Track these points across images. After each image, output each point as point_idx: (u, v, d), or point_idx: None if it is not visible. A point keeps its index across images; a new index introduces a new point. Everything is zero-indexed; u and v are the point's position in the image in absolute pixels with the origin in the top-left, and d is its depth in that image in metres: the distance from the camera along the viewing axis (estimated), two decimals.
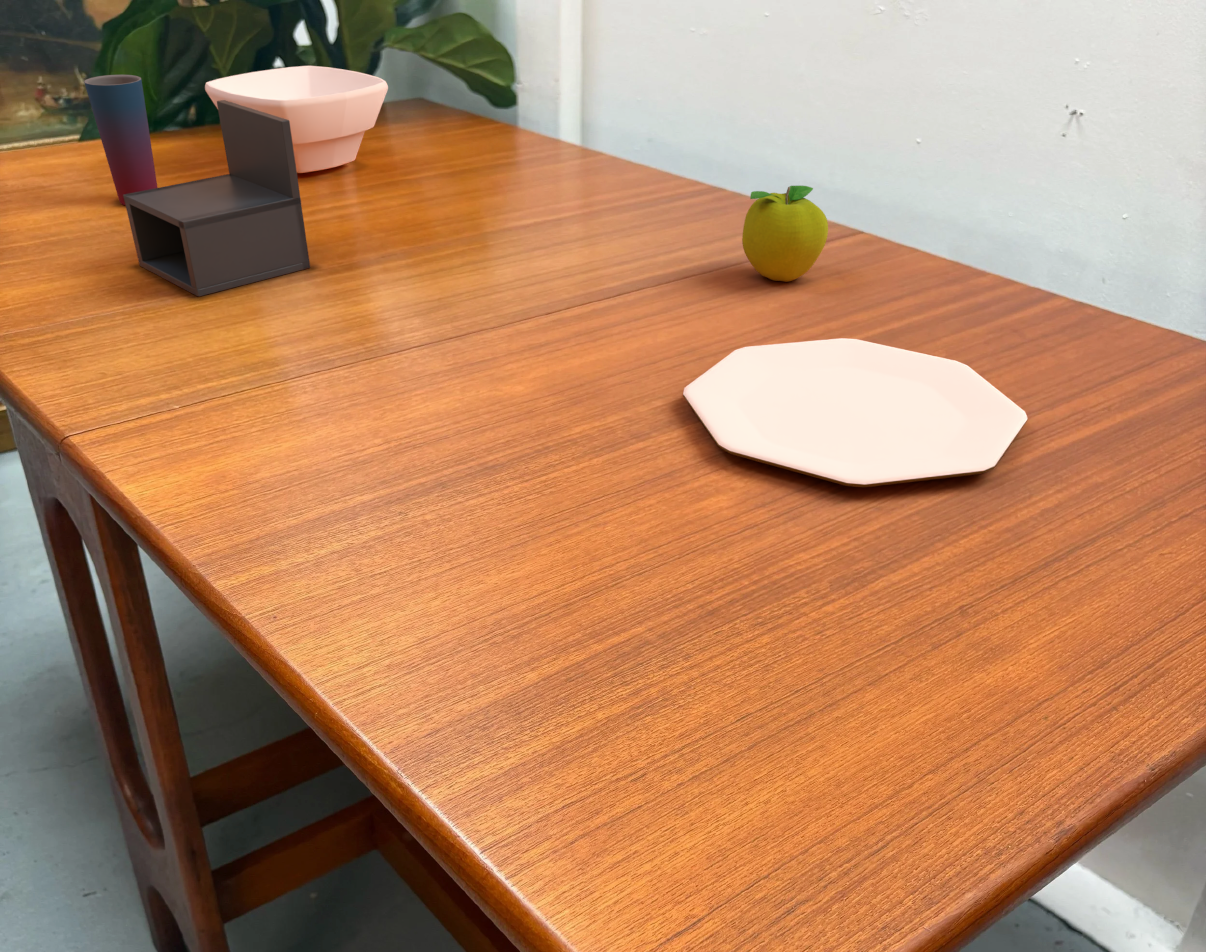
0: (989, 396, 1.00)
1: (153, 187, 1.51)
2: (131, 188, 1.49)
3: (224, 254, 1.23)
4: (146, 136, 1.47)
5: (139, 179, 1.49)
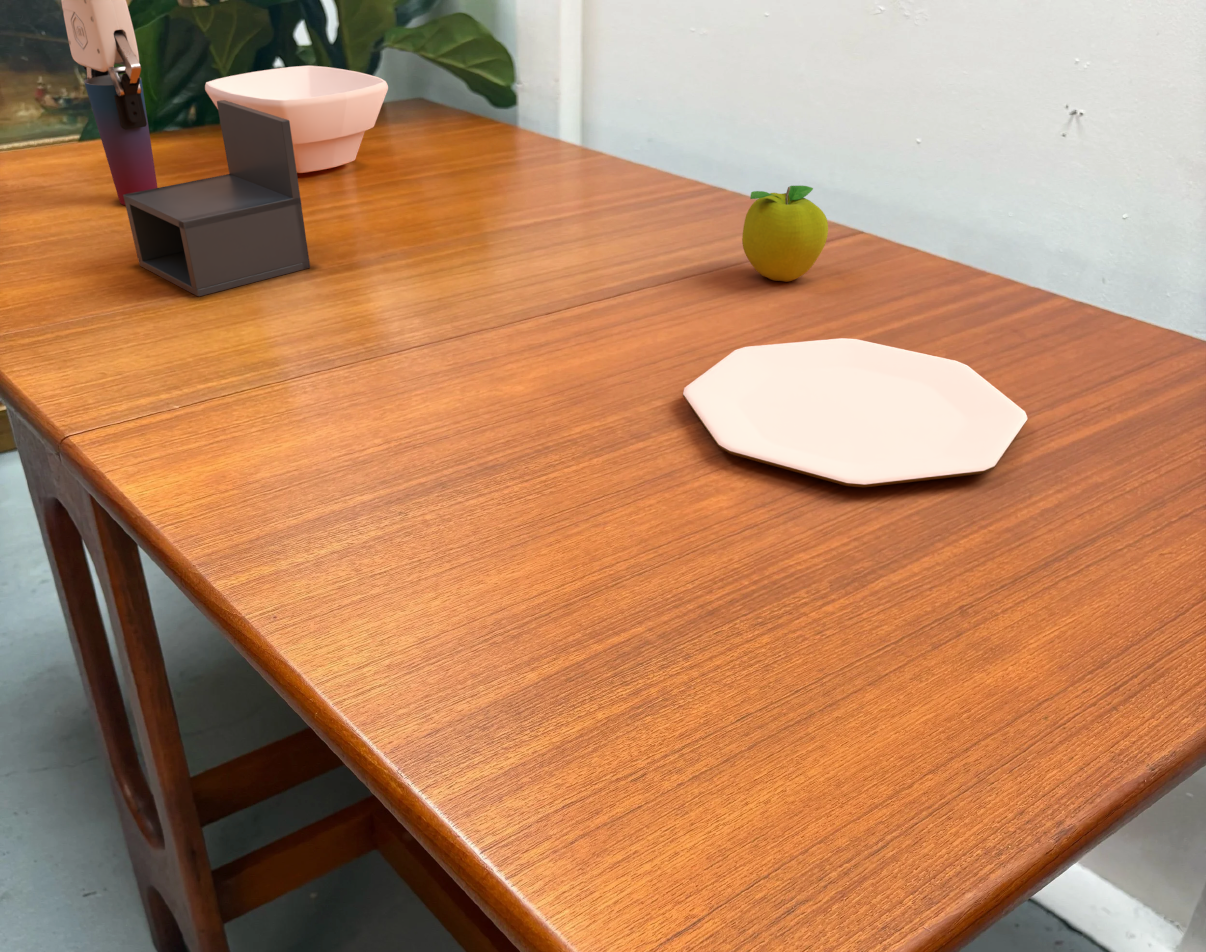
0: (989, 396, 1.00)
1: (153, 187, 1.51)
2: (131, 188, 1.49)
3: (224, 254, 1.23)
4: (146, 136, 1.47)
5: (139, 179, 1.49)
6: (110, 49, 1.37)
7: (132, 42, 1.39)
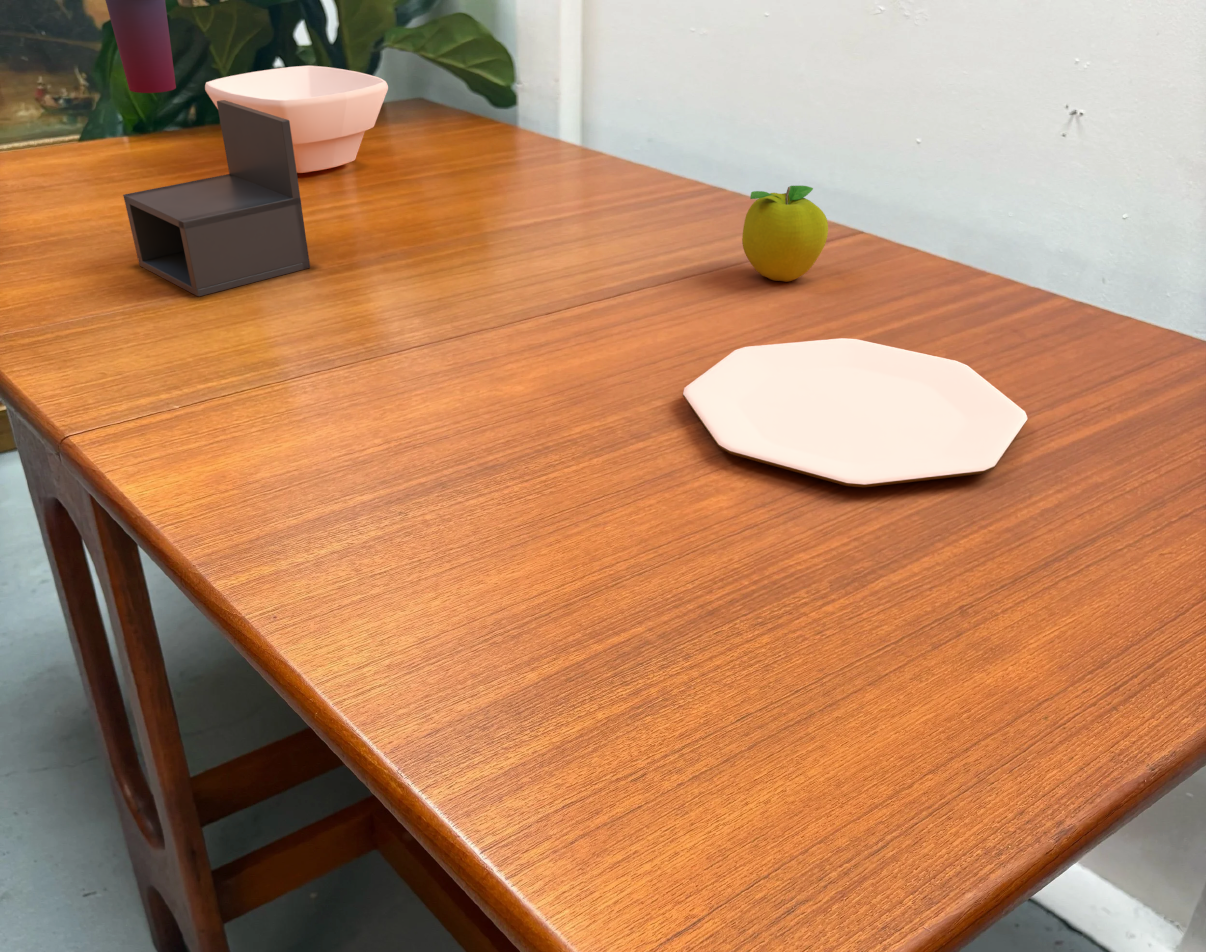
0: (989, 396, 1.00)
1: (169, 71, 1.26)
2: (144, 70, 1.25)
3: (224, 254, 1.23)
4: (162, 6, 1.23)
5: (153, 59, 1.24)
6: None
7: None
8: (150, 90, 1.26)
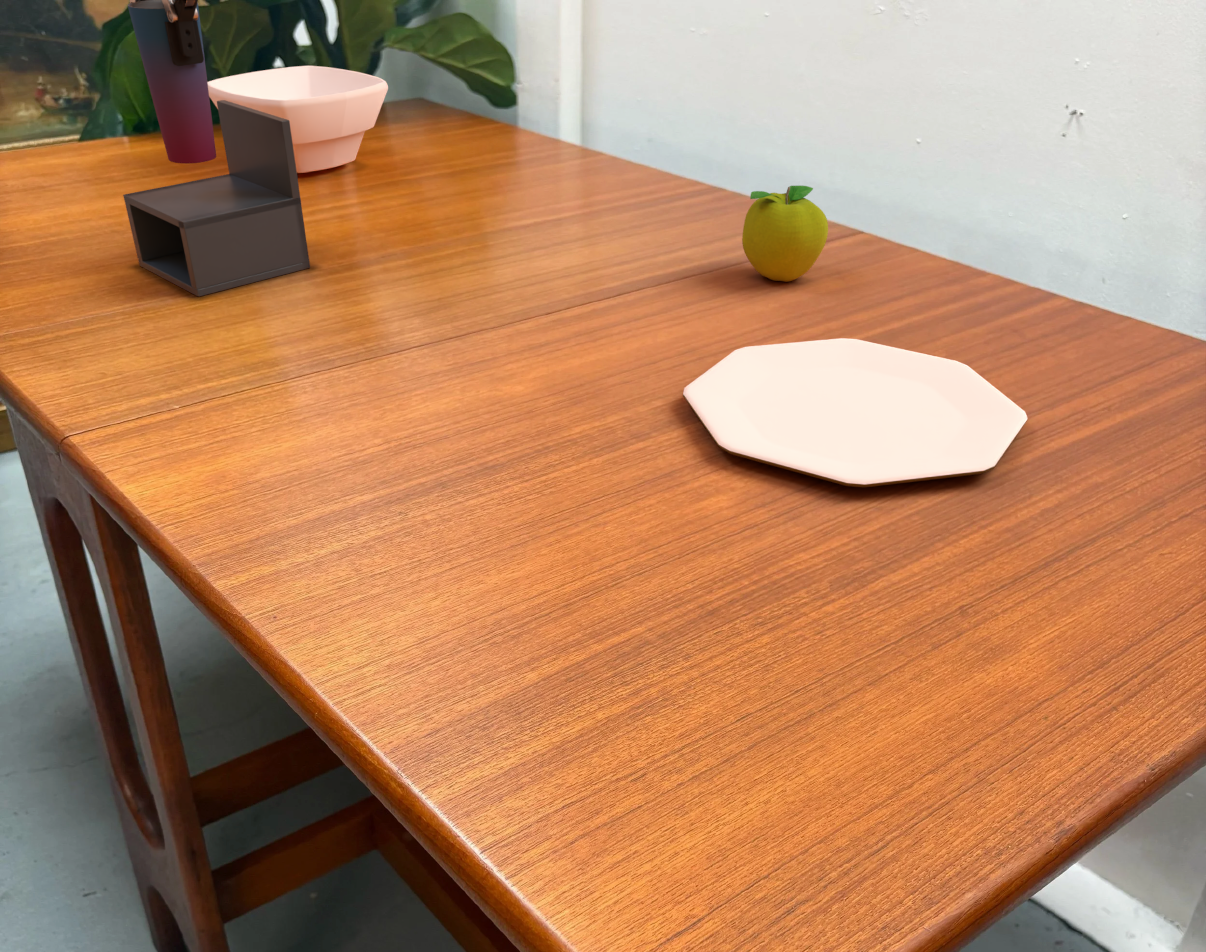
0: (989, 396, 1.00)
1: (210, 140, 1.22)
2: (184, 141, 1.20)
3: (224, 254, 1.23)
4: (203, 76, 1.19)
5: (193, 129, 1.20)
6: None
7: None
8: (190, 161, 1.22)
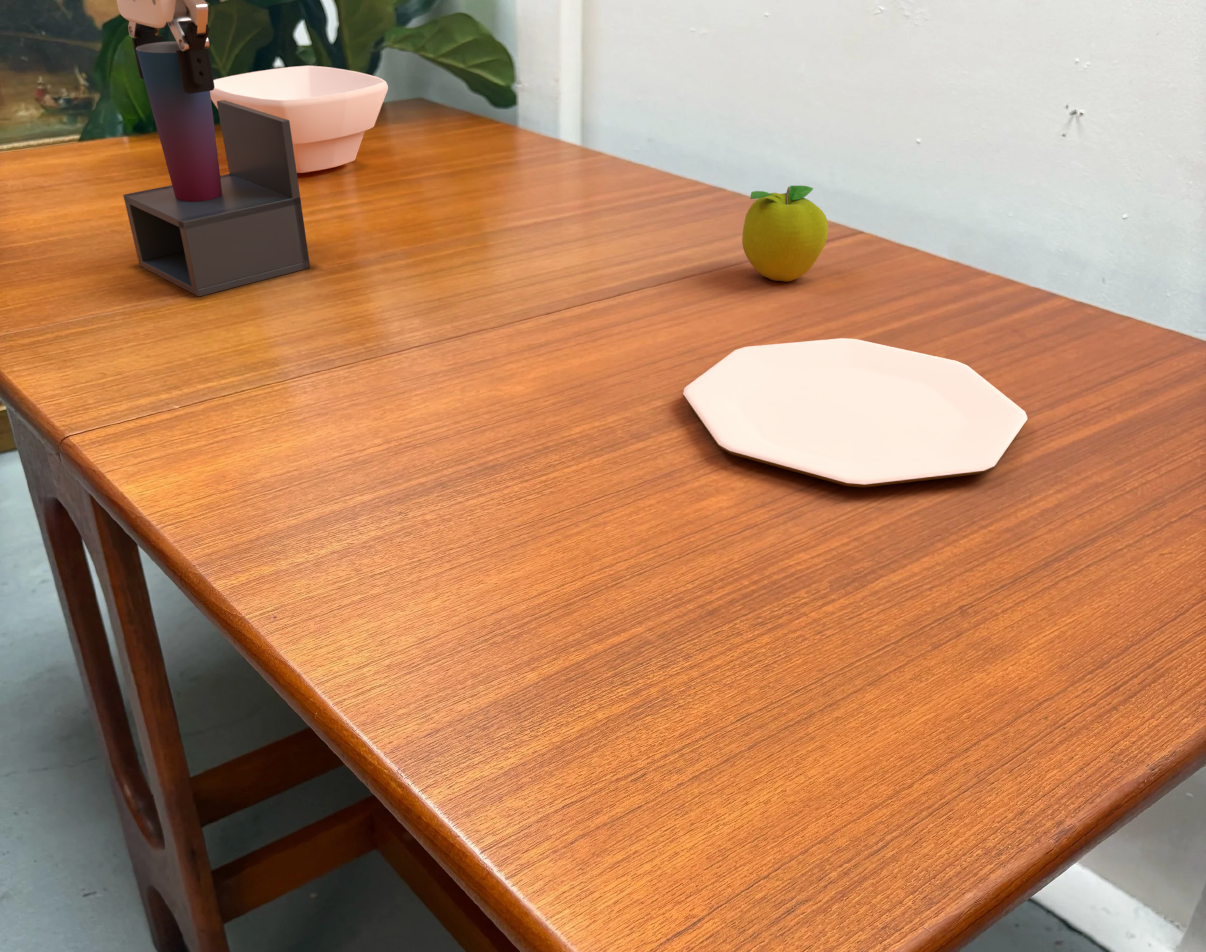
0: (989, 396, 1.00)
1: (216, 179, 1.24)
2: (190, 180, 1.23)
3: (224, 254, 1.23)
4: (209, 116, 1.21)
5: (200, 169, 1.22)
6: None
7: None
8: (196, 199, 1.24)
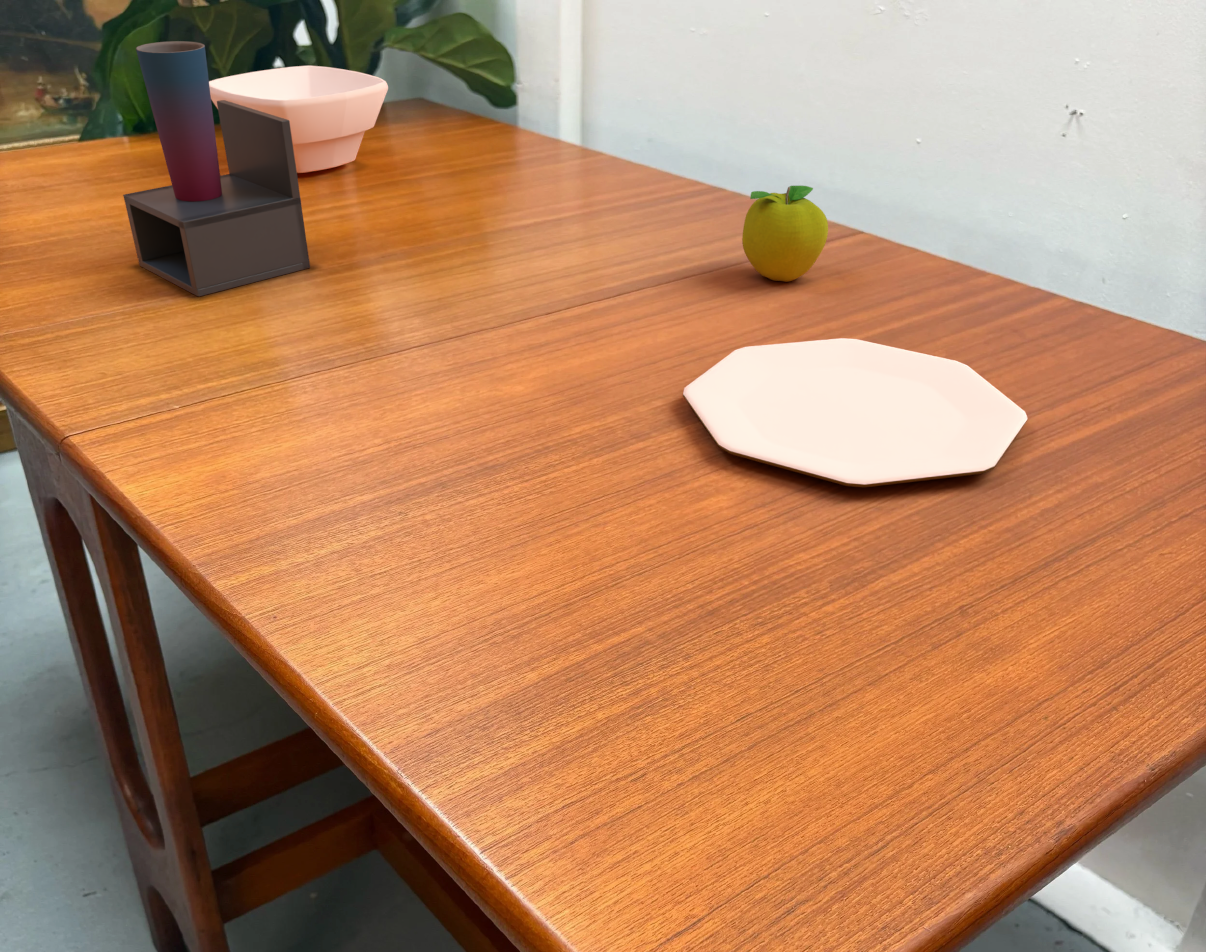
0: (989, 396, 1.00)
1: (216, 179, 1.24)
2: (190, 180, 1.23)
3: (224, 254, 1.23)
4: (209, 116, 1.21)
5: (200, 169, 1.22)
6: None
7: None
8: (196, 199, 1.24)
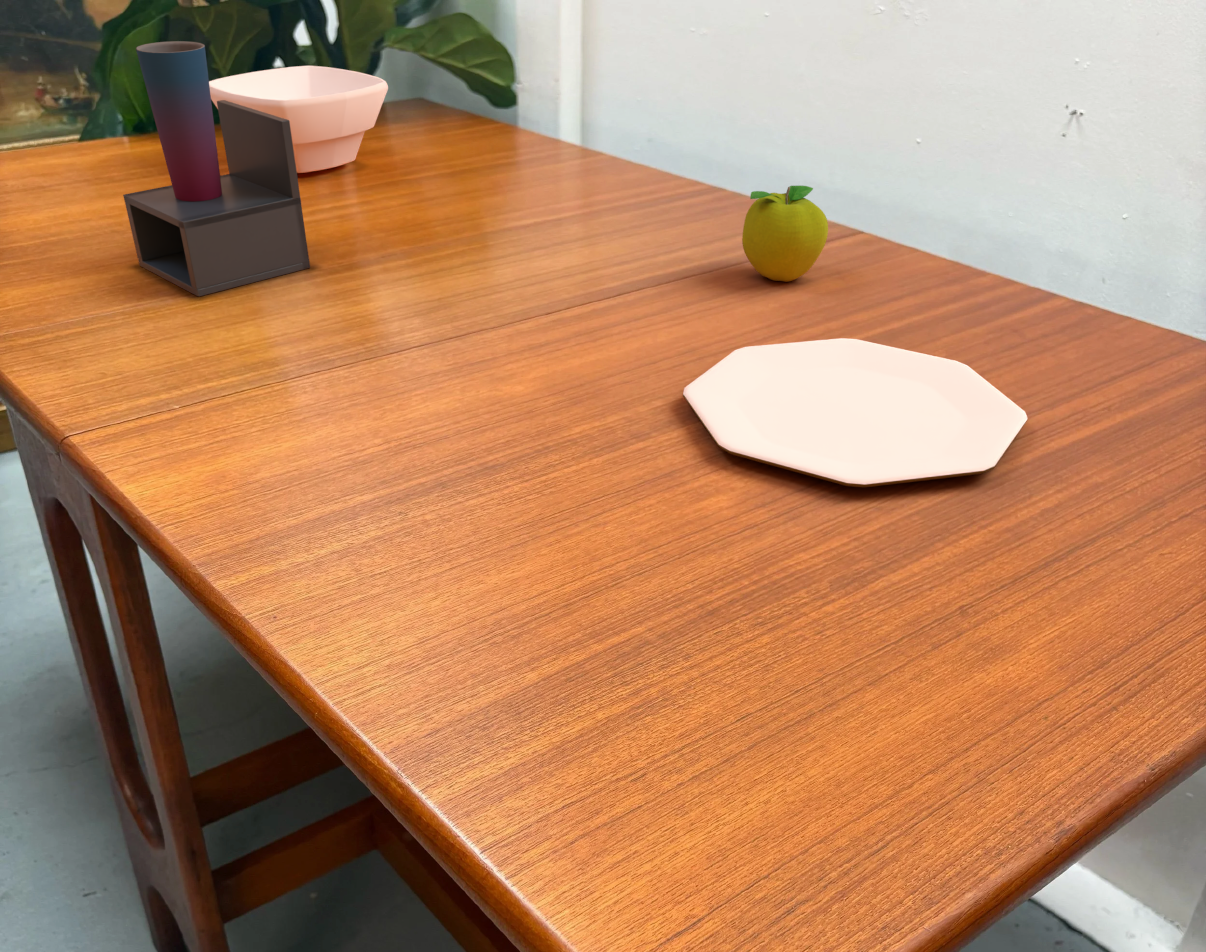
0: (989, 396, 1.00)
1: (216, 179, 1.24)
2: (190, 180, 1.23)
3: (224, 254, 1.23)
4: (209, 116, 1.21)
5: (200, 169, 1.22)
6: None
7: None
8: (196, 199, 1.24)
